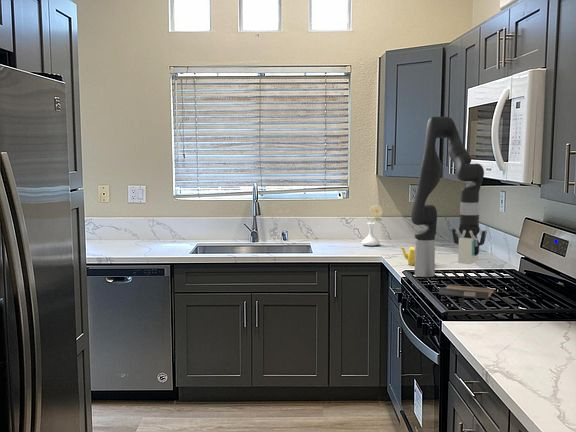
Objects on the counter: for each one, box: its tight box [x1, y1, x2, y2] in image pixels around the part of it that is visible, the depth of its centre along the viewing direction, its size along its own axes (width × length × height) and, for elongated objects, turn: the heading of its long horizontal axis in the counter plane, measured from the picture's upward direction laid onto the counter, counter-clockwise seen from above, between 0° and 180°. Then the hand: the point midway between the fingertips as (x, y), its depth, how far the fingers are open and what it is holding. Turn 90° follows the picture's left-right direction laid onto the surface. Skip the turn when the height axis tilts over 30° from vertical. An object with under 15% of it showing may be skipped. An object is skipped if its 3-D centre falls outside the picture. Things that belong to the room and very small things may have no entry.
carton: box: [458, 235, 480, 265], centre depth 252 cm, size 5×10×10 cm, turn 147°
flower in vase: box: [361, 204, 384, 247], centre depth 379 cm, size 13×11×25 cm
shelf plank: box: [438, 284, 496, 300], centre depth 253 cm, size 18×19×4 cm
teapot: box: [399, 246, 415, 267], centre depth 320 cm, size 15×14×10 cm
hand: (468, 254), depth 253 cm, fingers closed on carton, 5 cm apart
